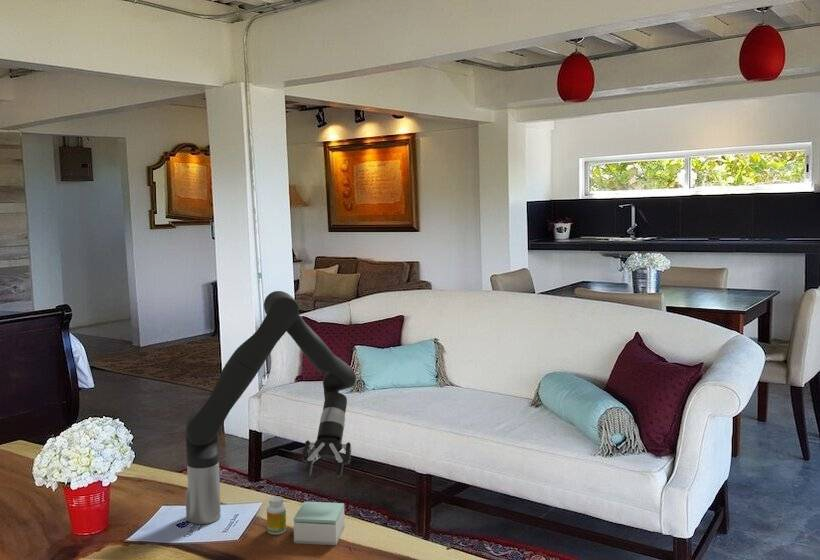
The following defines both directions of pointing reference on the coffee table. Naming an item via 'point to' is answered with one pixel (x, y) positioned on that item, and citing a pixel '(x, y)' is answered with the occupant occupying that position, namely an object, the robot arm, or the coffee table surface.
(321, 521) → the lid
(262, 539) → the coffee table surface
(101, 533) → the coffee table surface
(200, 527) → the coffee table surface
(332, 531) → the storage box
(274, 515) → the supplement bottle
